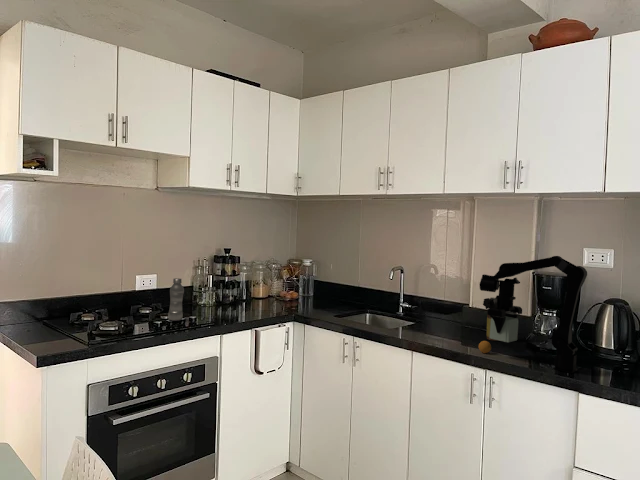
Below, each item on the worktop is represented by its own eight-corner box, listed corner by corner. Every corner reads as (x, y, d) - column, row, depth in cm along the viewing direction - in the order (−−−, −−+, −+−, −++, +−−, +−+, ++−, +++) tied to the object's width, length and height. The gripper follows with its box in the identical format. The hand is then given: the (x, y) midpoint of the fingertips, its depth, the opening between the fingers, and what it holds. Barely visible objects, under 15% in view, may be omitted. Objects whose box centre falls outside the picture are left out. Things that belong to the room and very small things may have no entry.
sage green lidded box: (517, 340, 200) (518, 318, 200) (508, 342, 195) (509, 320, 195) (498, 336, 206) (500, 315, 206) (489, 338, 201) (490, 316, 200)
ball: (485, 337, 209) (480, 347, 210) (479, 339, 205) (474, 349, 207) (495, 344, 206) (490, 354, 207) (489, 346, 202) (484, 356, 204)
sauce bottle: (502, 340, 234) (505, 298, 233) (497, 342, 229) (499, 299, 229) (488, 337, 238) (491, 296, 238) (483, 339, 233) (486, 297, 233)
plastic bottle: (166, 319, 235) (168, 278, 235) (181, 319, 239) (183, 278, 238) (169, 322, 230) (171, 279, 229) (183, 321, 233) (186, 279, 232)
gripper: (498, 290, 212) (496, 326, 213) (476, 292, 200) (473, 330, 200) (524, 293, 204) (521, 331, 205) (502, 296, 191) (499, 336, 192)
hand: (503, 332), depth 201 cm, fingers closed on sage green lidded box, 8 cm apart
